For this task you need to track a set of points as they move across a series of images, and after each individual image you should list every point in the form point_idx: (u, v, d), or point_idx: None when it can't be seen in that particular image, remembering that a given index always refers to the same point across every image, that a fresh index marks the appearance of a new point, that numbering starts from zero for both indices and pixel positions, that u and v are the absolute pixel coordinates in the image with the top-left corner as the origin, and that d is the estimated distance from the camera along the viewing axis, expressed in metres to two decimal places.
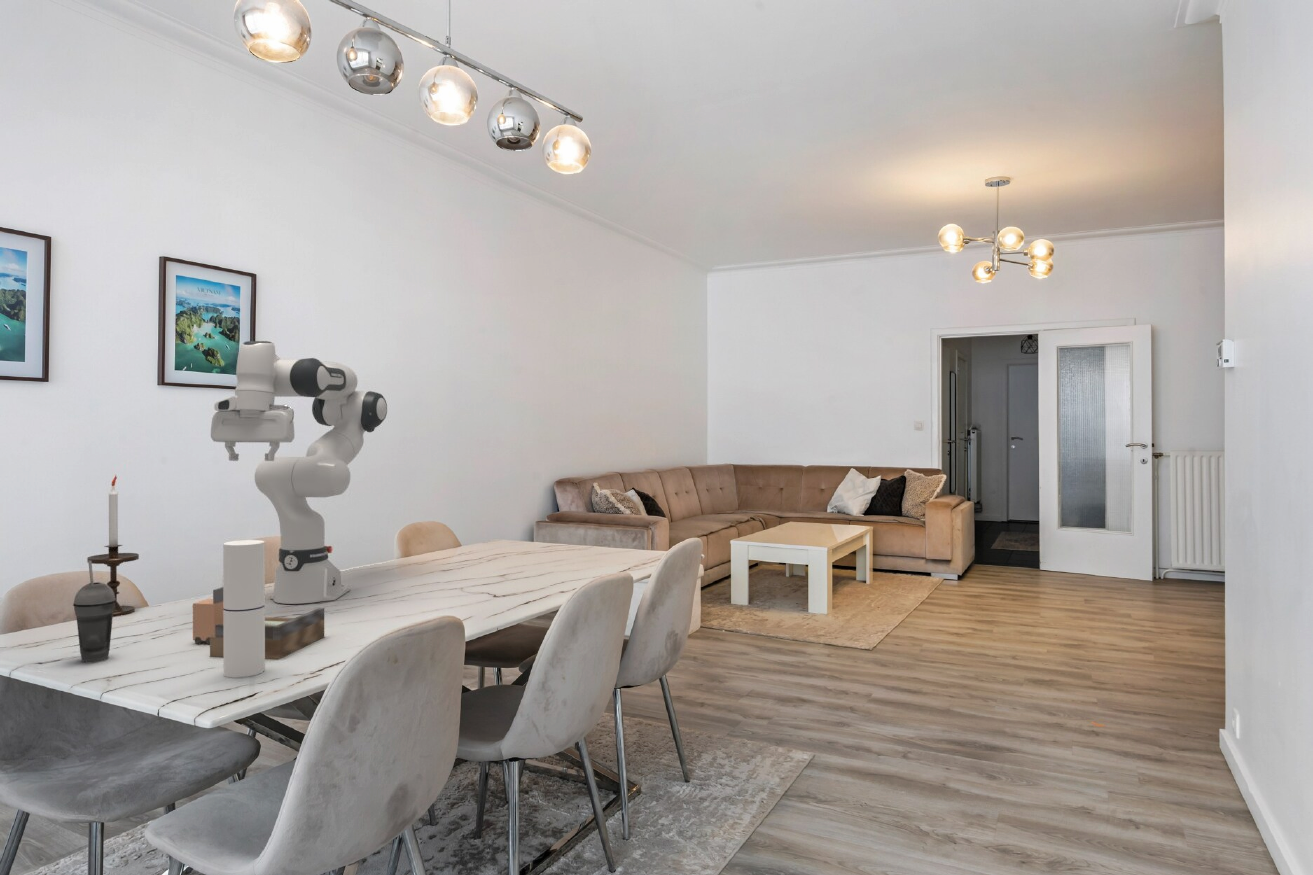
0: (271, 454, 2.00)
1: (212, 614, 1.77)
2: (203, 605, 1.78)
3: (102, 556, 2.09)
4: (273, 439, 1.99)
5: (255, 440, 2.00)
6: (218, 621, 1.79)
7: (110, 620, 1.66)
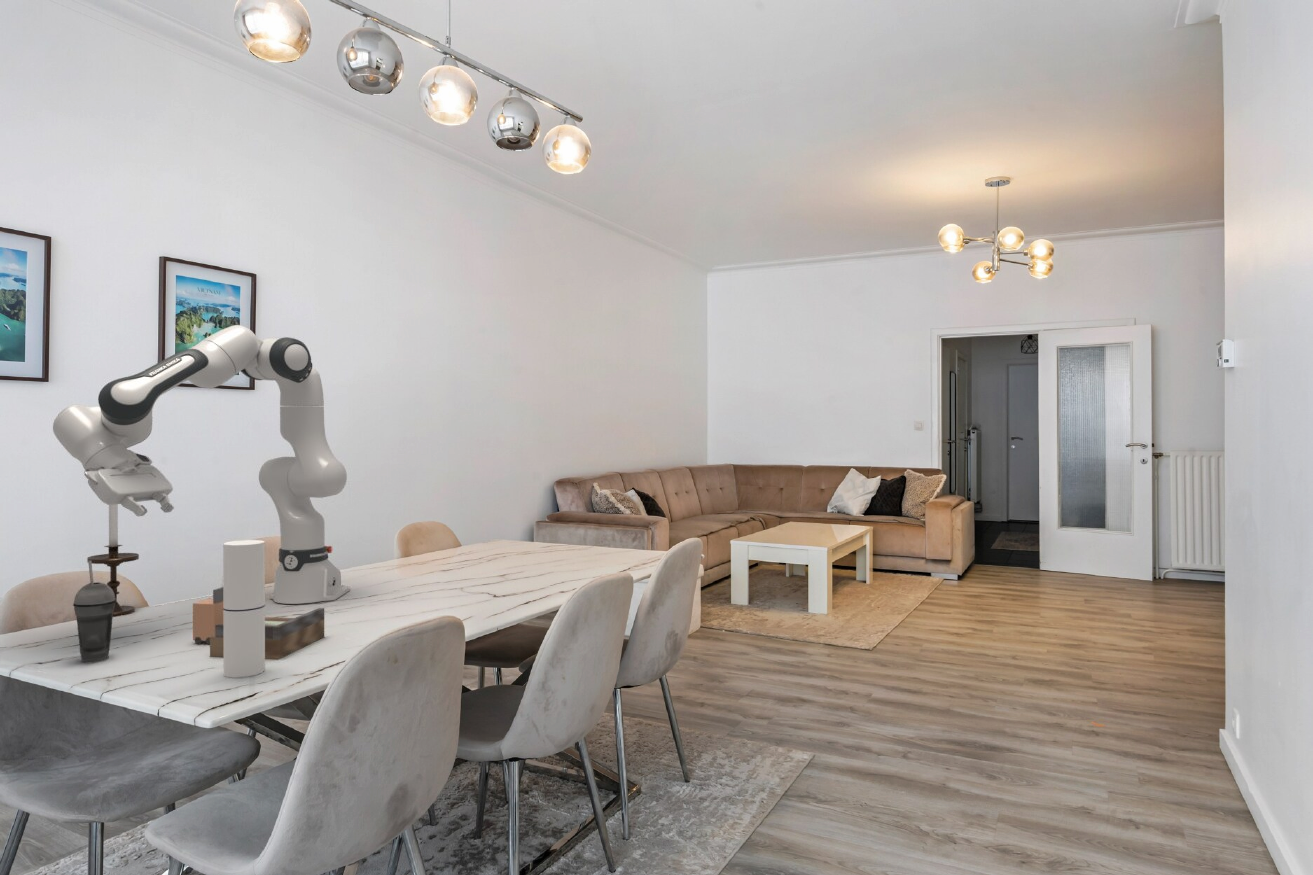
0: (134, 510, 1.75)
1: (212, 614, 1.77)
2: (203, 605, 1.78)
3: (102, 556, 2.09)
4: None
5: None
6: (218, 621, 1.79)
7: (110, 620, 1.66)
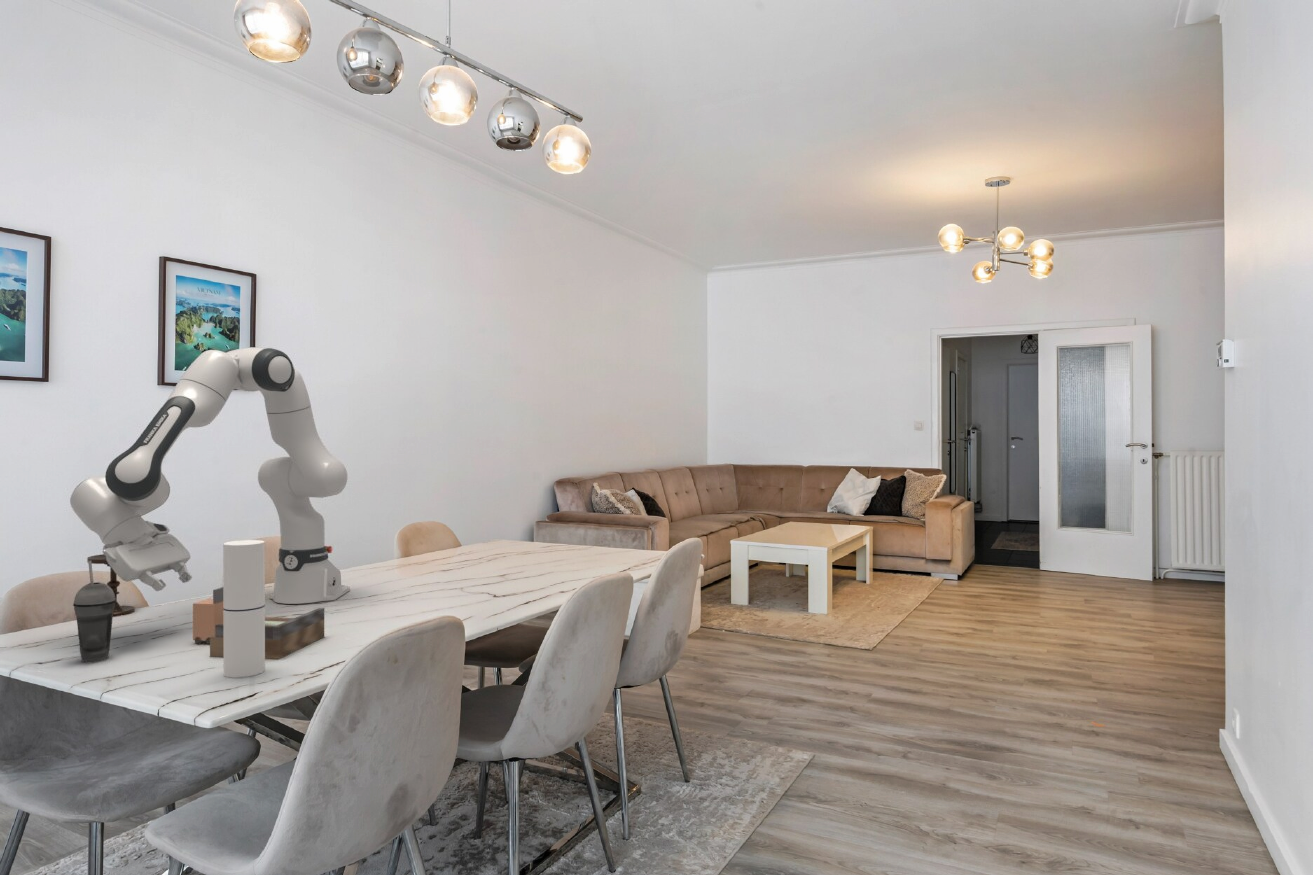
0: (153, 585, 1.75)
1: (212, 614, 1.77)
2: (203, 605, 1.78)
3: (102, 556, 2.09)
4: None
5: None
6: (218, 621, 1.79)
7: (110, 620, 1.66)
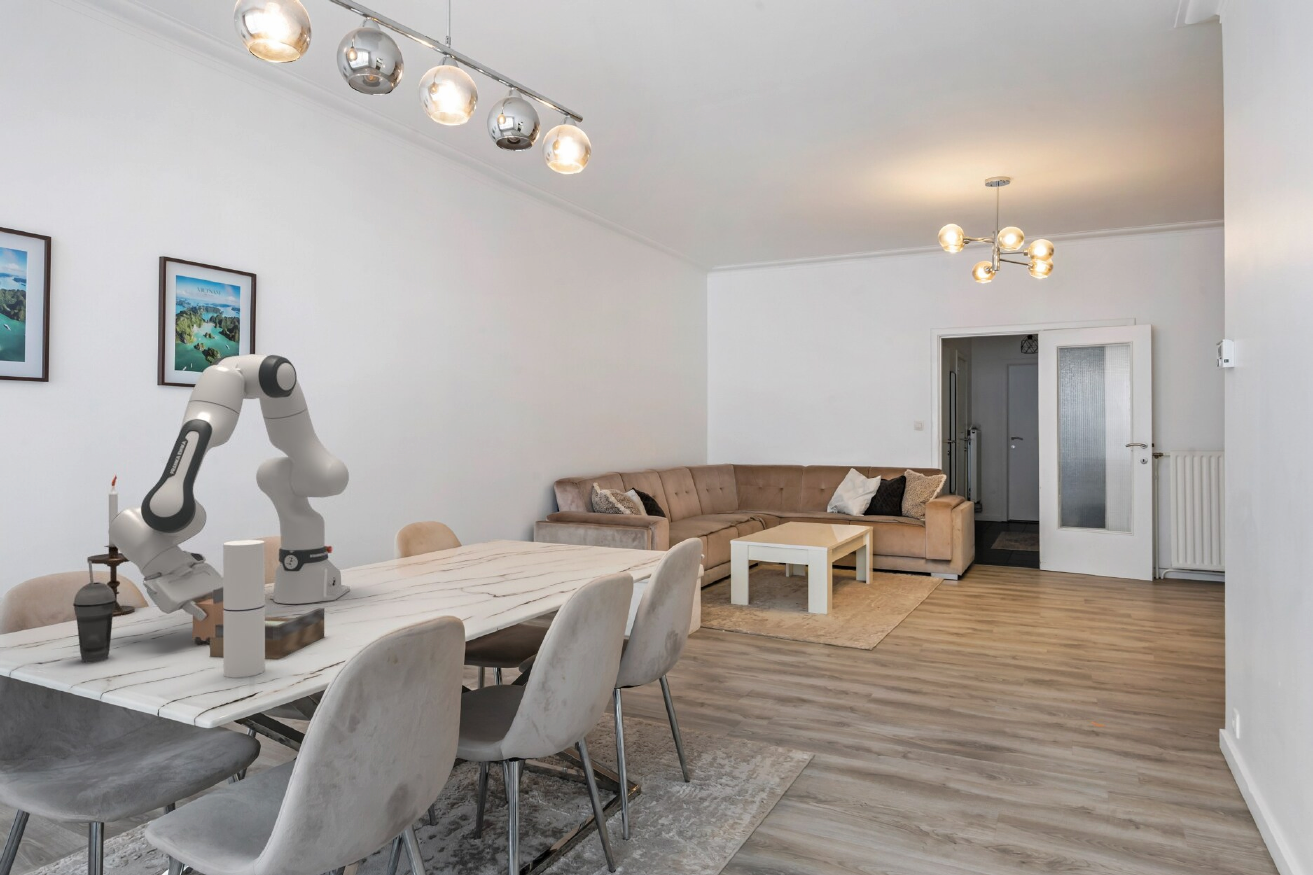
0: (196, 615, 1.76)
1: (212, 614, 1.77)
2: (203, 605, 1.78)
3: (102, 556, 2.09)
4: None
5: None
6: (218, 621, 1.79)
7: (110, 620, 1.66)
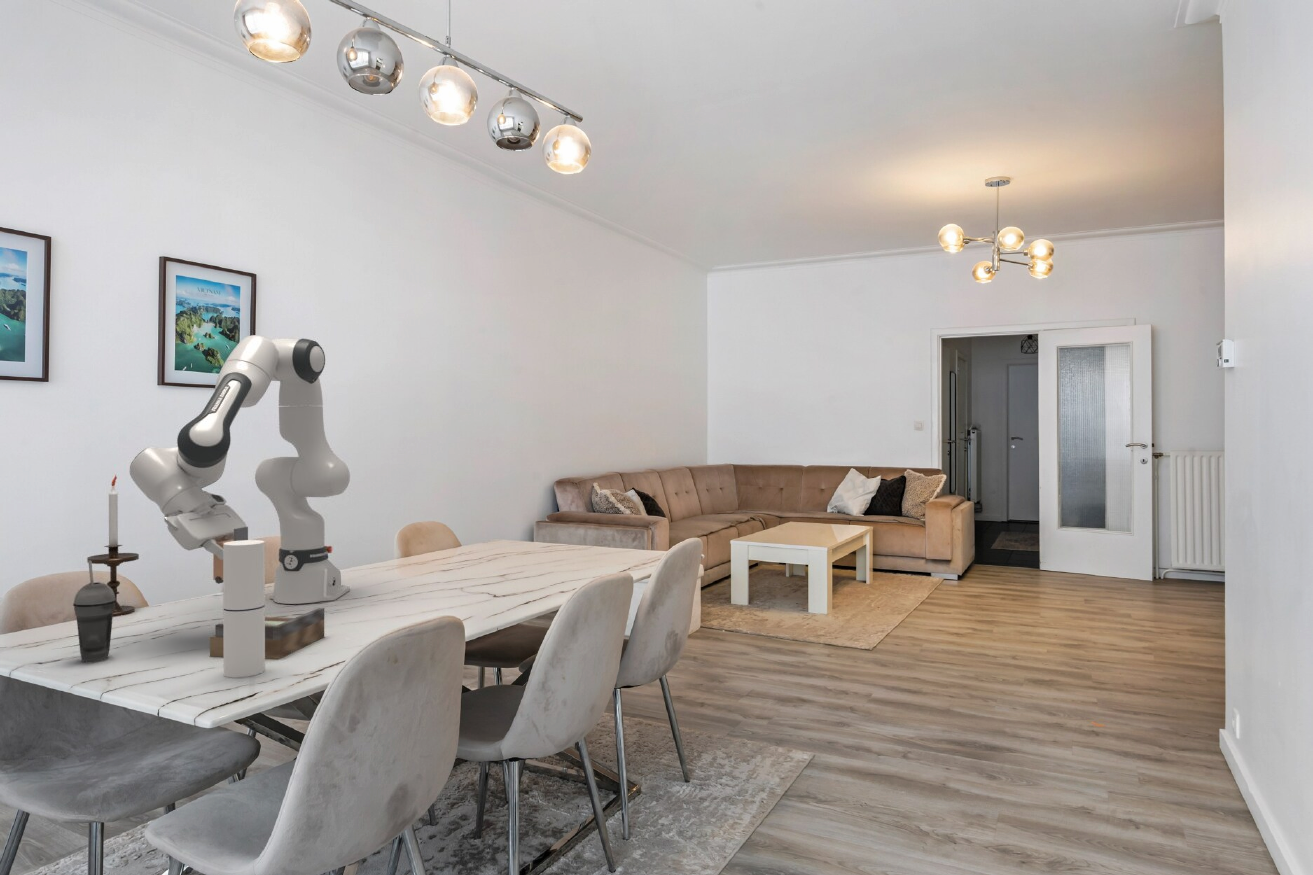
0: (217, 553, 1.74)
1: None
2: None
3: (102, 556, 2.09)
4: None
5: None
6: None
7: (110, 620, 1.66)
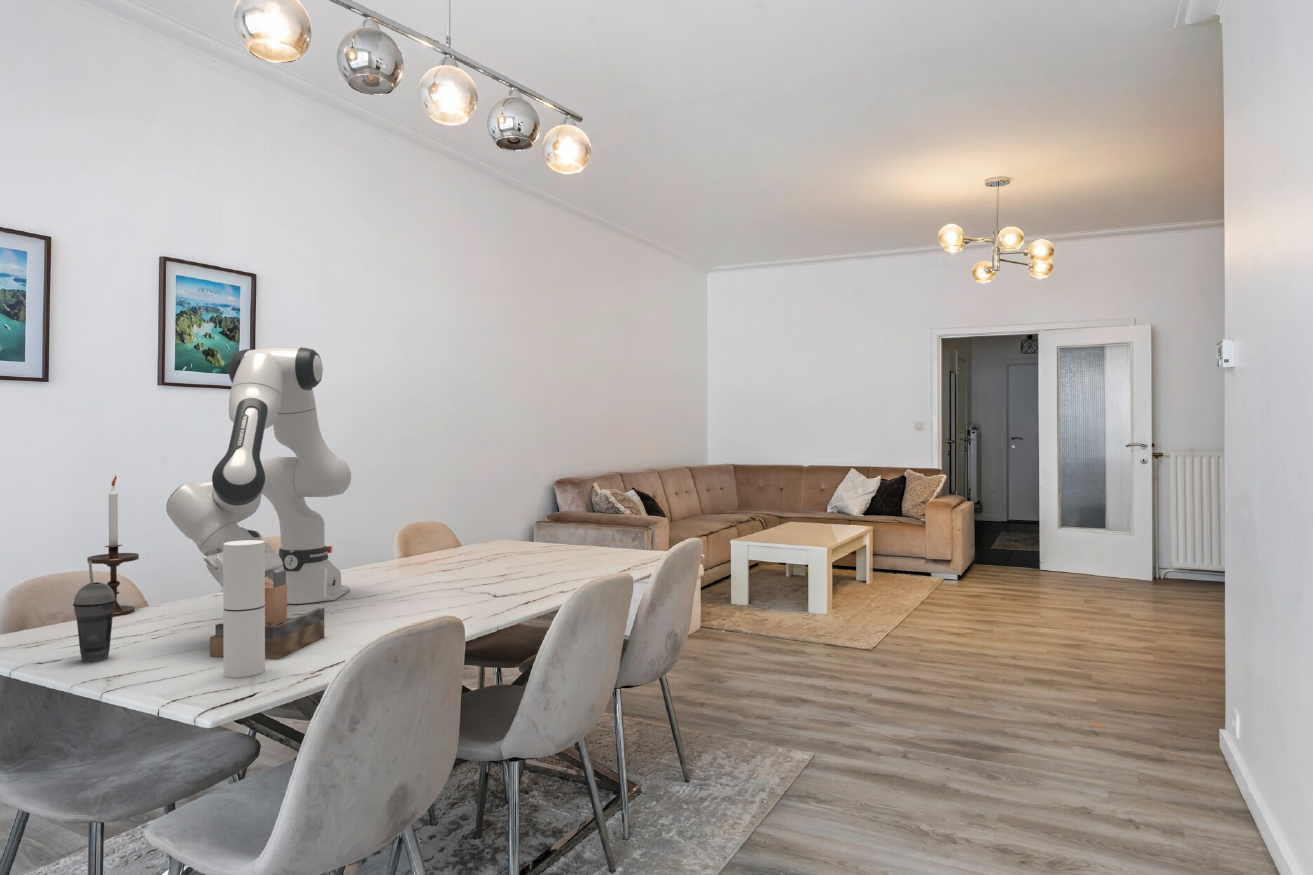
0: None
1: (272, 598, 1.74)
2: None
3: (102, 556, 2.09)
4: None
5: None
6: (278, 605, 1.75)
7: (110, 620, 1.66)
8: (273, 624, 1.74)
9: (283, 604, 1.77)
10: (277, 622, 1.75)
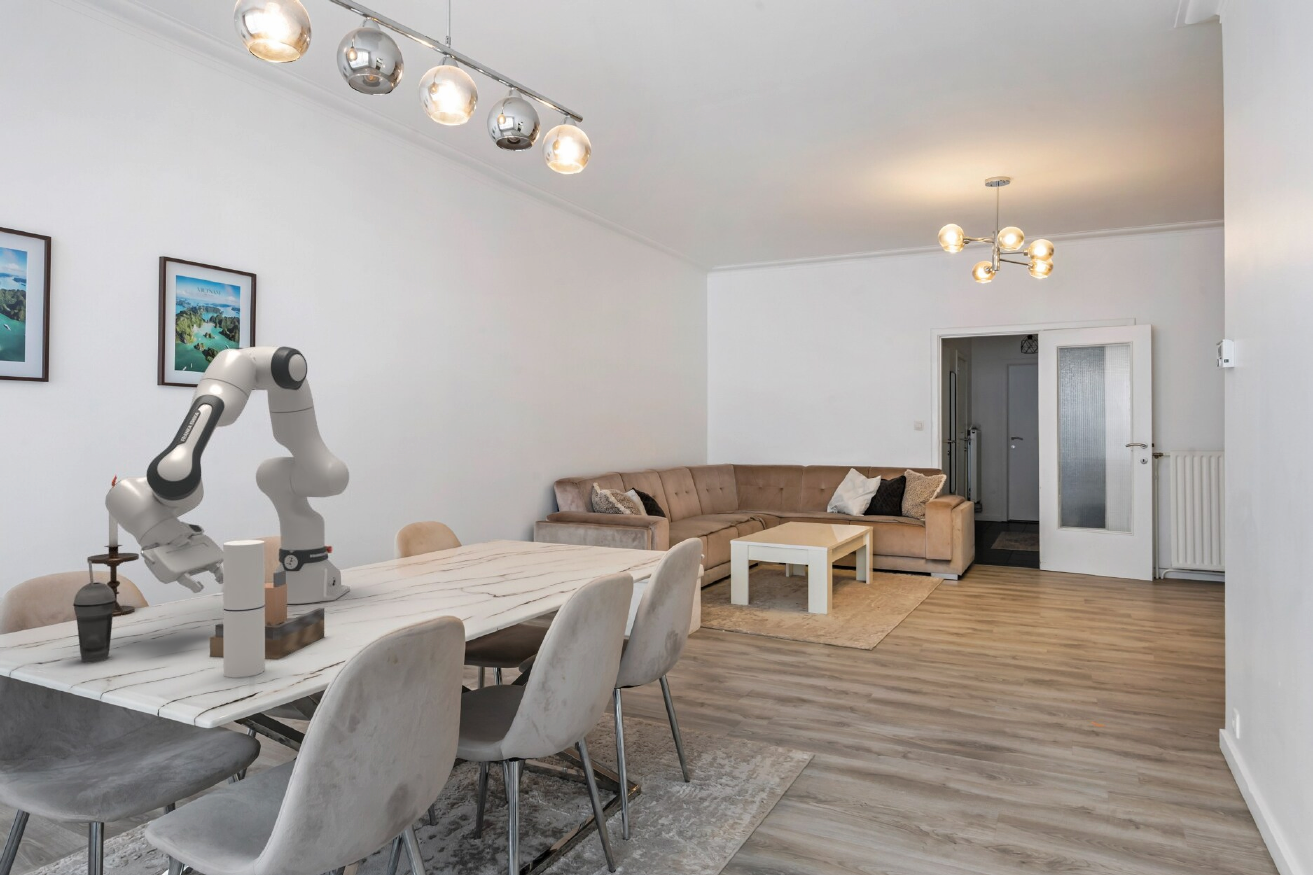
0: (191, 587, 1.72)
1: (272, 598, 1.74)
2: None
3: (102, 556, 2.09)
4: None
5: None
6: (278, 605, 1.75)
7: (110, 620, 1.66)
8: (273, 624, 1.74)
9: (283, 604, 1.77)
10: (277, 622, 1.75)
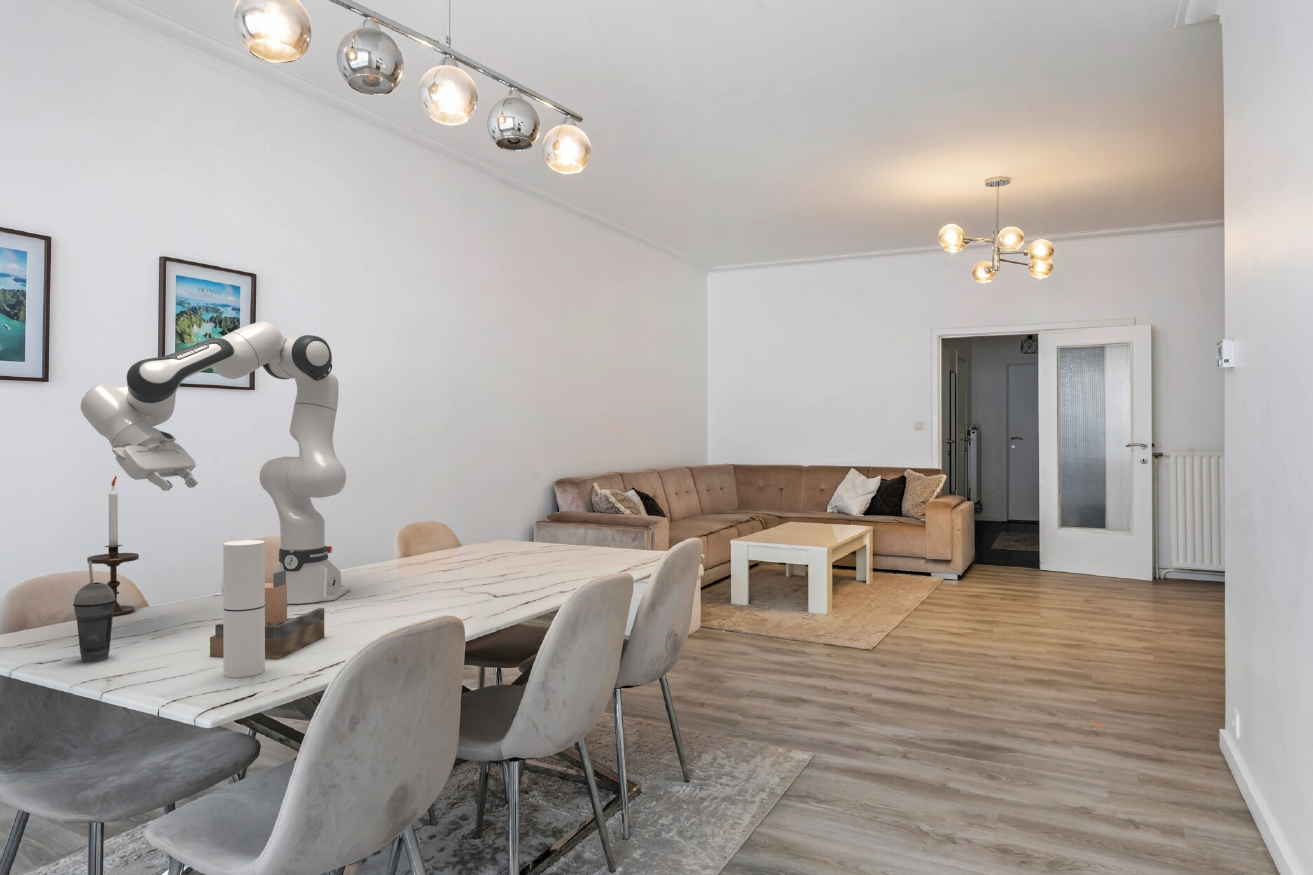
0: (160, 485, 1.82)
1: (272, 598, 1.74)
2: None
3: (102, 556, 2.09)
4: None
5: None
6: (278, 605, 1.75)
7: (110, 620, 1.66)
8: (273, 624, 1.74)
9: (283, 604, 1.77)
10: (277, 622, 1.75)
